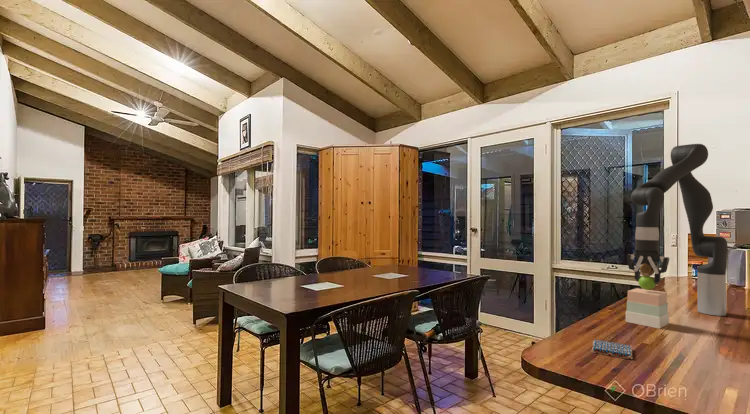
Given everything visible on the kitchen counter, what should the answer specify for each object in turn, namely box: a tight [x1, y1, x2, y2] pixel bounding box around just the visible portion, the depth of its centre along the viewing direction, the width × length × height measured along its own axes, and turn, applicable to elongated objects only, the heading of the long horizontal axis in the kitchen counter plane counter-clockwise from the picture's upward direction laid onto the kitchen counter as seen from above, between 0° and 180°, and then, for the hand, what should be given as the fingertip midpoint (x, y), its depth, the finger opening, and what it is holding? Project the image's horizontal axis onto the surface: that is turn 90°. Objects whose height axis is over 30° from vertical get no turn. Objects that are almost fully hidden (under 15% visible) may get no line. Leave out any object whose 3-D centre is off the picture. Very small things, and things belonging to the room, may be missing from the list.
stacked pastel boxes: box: [625, 287, 670, 329], centre depth 147 cm, size 11×11×12 cm
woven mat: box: [591, 338, 634, 360], centre depth 114 cm, size 10×11×2 cm
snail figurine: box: [637, 263, 657, 290], centre depth 147 cm, size 5×6×12 cm
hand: (647, 282), depth 147 cm, fingers closed on snail figurine, 5 cm apart
